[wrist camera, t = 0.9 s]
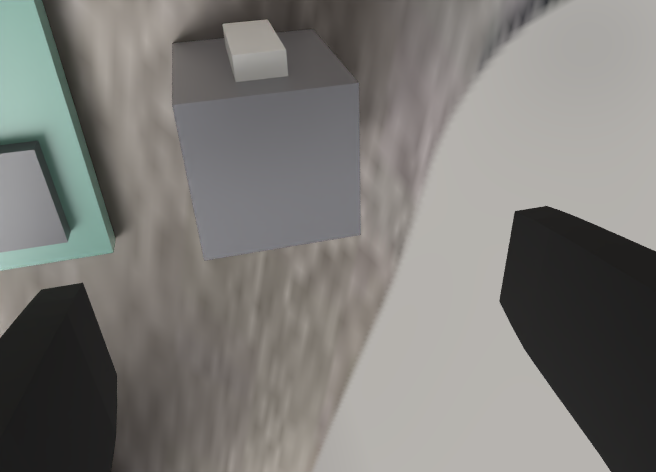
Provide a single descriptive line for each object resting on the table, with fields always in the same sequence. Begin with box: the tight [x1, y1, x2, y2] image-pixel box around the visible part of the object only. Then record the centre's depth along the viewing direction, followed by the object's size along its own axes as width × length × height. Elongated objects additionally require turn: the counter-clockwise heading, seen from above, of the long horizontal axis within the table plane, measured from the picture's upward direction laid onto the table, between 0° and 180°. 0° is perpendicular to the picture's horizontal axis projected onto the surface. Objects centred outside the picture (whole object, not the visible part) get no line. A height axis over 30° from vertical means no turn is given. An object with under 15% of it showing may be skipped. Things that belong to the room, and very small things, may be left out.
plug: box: [172, 19, 361, 261], centre depth 15 cm, size 5×4×5 cm
